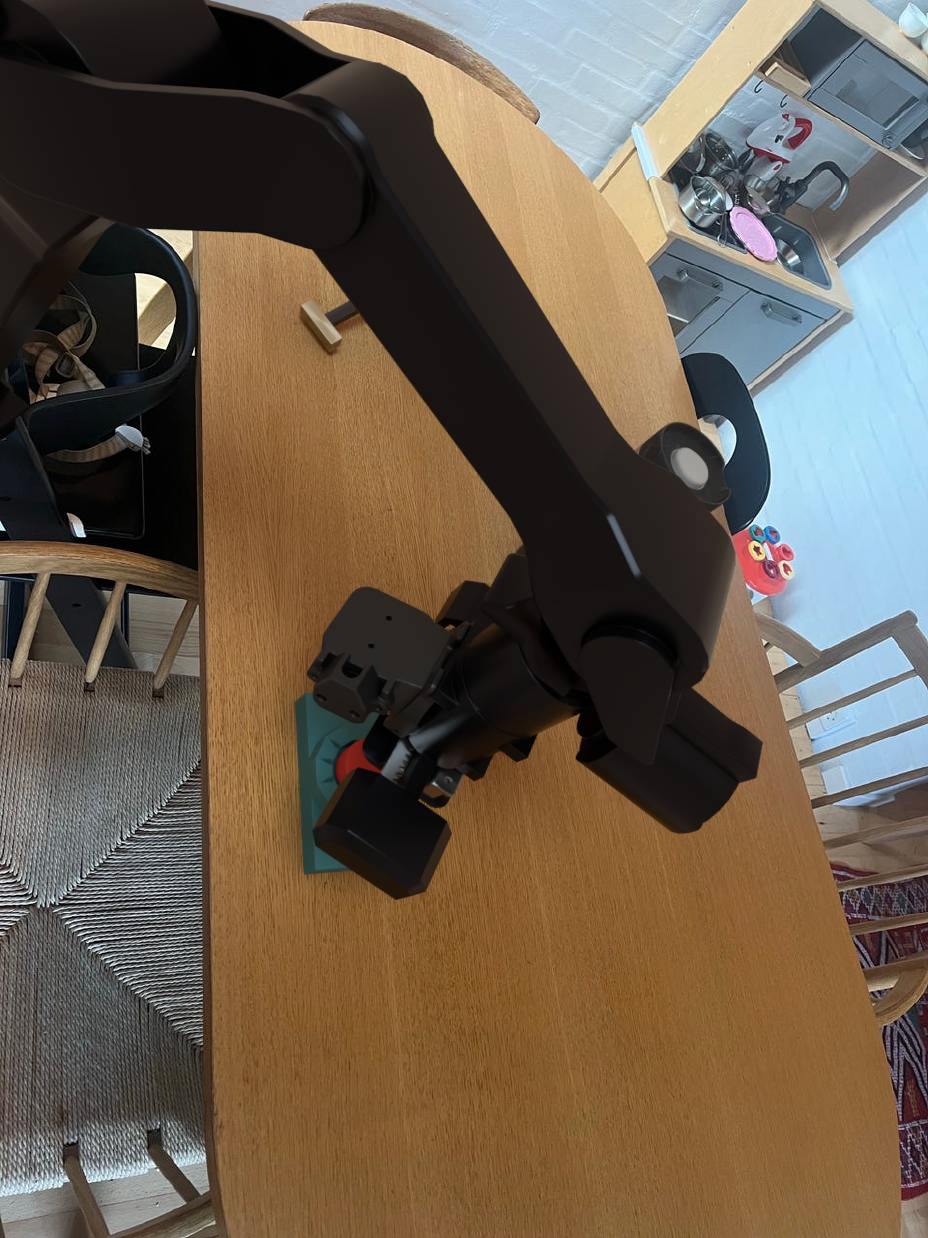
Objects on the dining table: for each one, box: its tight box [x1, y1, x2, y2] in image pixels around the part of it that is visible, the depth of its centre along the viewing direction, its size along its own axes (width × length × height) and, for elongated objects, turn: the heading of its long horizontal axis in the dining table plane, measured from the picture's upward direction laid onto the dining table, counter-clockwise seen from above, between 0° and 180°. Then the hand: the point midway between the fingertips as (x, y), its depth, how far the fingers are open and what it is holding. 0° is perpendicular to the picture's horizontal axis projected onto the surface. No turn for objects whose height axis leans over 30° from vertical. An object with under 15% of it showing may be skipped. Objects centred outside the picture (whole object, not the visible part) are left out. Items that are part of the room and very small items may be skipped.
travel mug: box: [515, 421, 732, 556], centre depth 66 cm, size 8×8×20 cm
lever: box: [299, 298, 360, 353], centre depth 73 cm, size 18×4×2 cm, turn 135°
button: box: [336, 739, 381, 784], centre depth 51 cm, size 4×4×2 cm
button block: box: [294, 691, 397, 876], centre depth 53 cm, size 12×6×4 cm, turn 9°
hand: (377, 760), depth 50 cm, fingers closed
